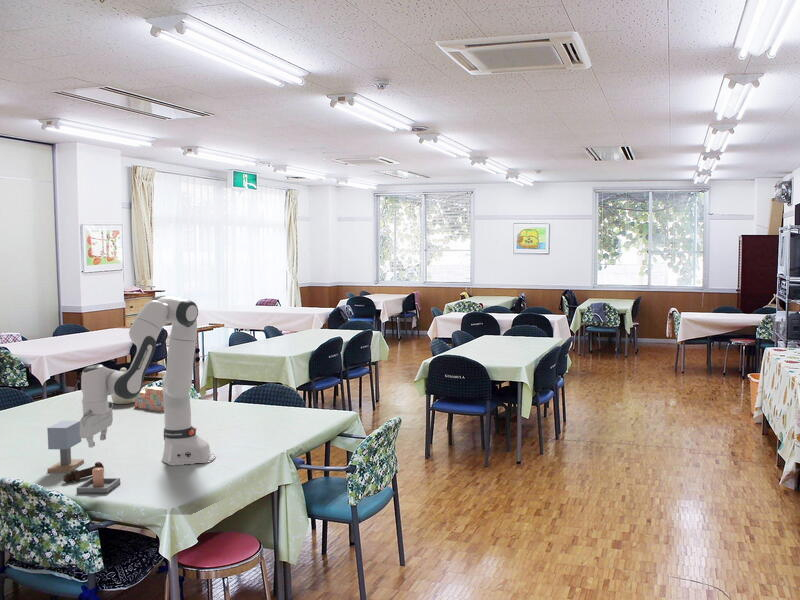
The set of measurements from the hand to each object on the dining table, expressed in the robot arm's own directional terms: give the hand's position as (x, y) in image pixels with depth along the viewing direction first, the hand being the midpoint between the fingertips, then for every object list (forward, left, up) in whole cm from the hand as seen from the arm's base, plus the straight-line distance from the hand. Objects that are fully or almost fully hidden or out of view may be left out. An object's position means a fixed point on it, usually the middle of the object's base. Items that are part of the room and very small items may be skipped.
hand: (97, 443), depth 274 cm
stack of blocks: (+32, -136, -18) cm, 141 cm away
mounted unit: (+26, -26, -18) cm, 41 cm away
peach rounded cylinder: (0, 0, -17) cm, 17 cm away
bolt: (+12, -12, -18) cm, 25 cm away
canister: (+54, -151, -18) cm, 161 cm away
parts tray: (0, 0, -18) cm, 18 cm away
